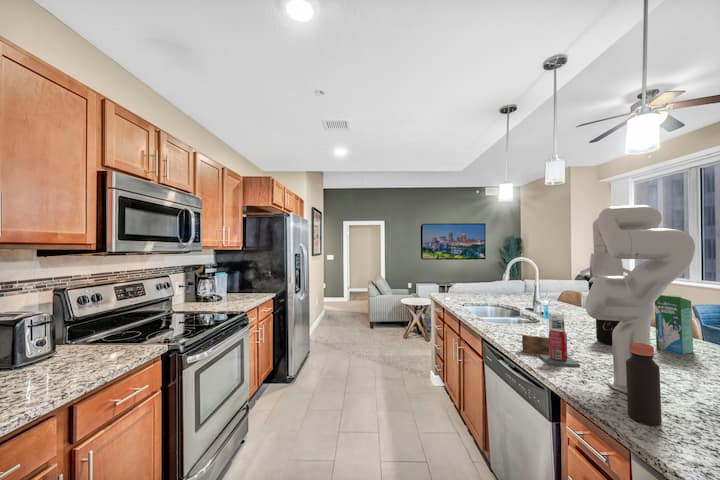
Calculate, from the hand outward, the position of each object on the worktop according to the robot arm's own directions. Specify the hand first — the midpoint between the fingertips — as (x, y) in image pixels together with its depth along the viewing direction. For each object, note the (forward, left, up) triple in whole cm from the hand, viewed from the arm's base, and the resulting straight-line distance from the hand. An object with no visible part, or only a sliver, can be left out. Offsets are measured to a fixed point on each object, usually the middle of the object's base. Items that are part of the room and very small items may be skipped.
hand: (607, 292), depth 123 cm
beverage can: (+3, +17, -28) cm, 33 cm away
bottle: (-41, +15, -29) cm, 53 cm away
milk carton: (+24, -41, -29) cm, 55 cm away
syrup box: (+31, +5, -29) cm, 43 cm away
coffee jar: (+33, -20, -29) cm, 48 cm away
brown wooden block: (+13, +20, -29) cm, 38 cm away
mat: (+3, +17, -29) cm, 34 cm away
